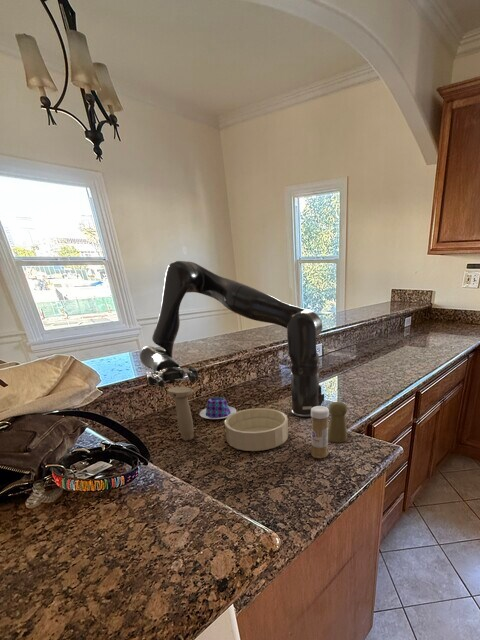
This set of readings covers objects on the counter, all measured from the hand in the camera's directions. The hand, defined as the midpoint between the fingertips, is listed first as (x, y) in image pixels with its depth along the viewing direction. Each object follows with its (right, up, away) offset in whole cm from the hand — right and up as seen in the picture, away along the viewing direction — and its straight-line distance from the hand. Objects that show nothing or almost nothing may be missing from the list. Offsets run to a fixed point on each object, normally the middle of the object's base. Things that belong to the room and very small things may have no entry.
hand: (178, 381), depth 102 cm
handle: (+3, -17, 0) cm, 17 cm away
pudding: (+7, -9, +17) cm, 20 cm away
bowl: (+23, -16, +1) cm, 28 cm away
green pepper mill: (+46, -17, +2) cm, 49 cm away
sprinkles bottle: (+41, -21, -8) cm, 47 cm away
